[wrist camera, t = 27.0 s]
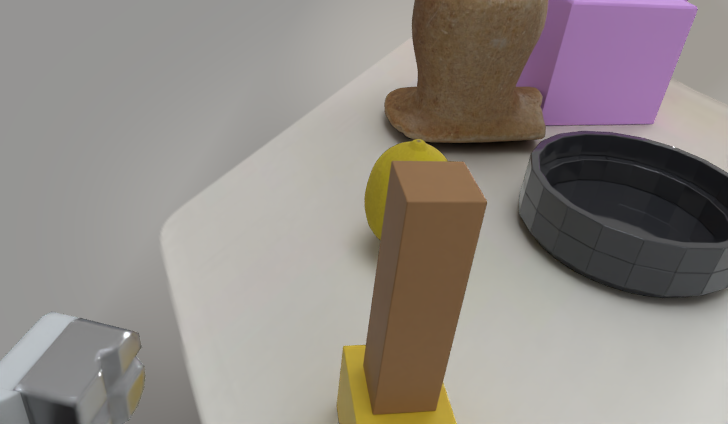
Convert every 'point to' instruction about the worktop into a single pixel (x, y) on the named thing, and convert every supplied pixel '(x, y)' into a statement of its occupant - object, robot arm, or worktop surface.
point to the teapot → (607, 59)
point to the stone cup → (471, 72)
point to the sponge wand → (414, 297)
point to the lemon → (381, 173)
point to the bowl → (629, 213)
